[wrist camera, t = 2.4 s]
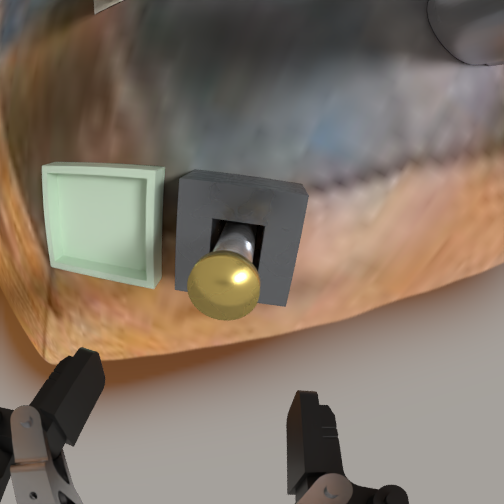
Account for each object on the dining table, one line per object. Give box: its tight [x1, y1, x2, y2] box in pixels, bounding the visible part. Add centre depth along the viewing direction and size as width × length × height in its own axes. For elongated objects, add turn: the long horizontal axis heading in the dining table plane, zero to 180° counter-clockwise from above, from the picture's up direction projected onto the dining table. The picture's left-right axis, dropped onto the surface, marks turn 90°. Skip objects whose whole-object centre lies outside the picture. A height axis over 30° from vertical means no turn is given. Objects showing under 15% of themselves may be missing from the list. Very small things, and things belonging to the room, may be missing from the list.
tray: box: [42, 162, 165, 289], centre depth 28 cm, size 14×12×2 cm
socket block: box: [175, 170, 309, 307], centre depth 26 cm, size 10×10×5 cm
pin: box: [187, 220, 260, 320], centre depth 23 cm, size 4×4×12 cm
